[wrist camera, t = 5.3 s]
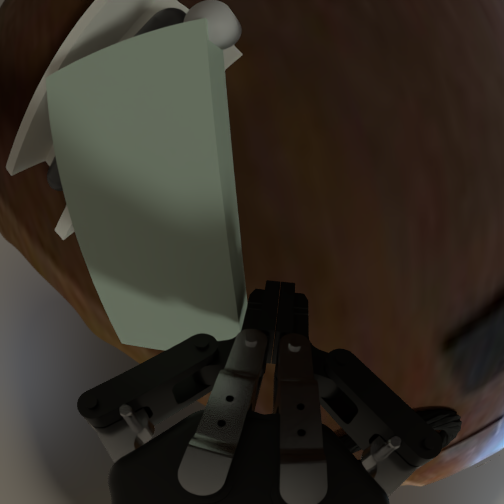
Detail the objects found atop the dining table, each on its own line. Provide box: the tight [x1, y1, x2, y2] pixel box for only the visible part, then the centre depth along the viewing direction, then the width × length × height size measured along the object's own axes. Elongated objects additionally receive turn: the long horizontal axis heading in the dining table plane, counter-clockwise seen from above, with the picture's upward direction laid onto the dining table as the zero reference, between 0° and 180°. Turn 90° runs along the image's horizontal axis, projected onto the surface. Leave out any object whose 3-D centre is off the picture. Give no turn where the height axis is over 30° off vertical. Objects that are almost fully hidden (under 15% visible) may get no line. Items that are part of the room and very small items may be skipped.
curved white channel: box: [6, 0, 243, 240], centre depth 14 cm, size 16×8×6 cm, turn 133°
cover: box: [46, 0, 248, 350], centre depth 12 cm, size 17×9×2 cm, turn 4°
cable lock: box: [340, 409, 462, 469], centre depth 37 cm, size 28×4×30 cm
